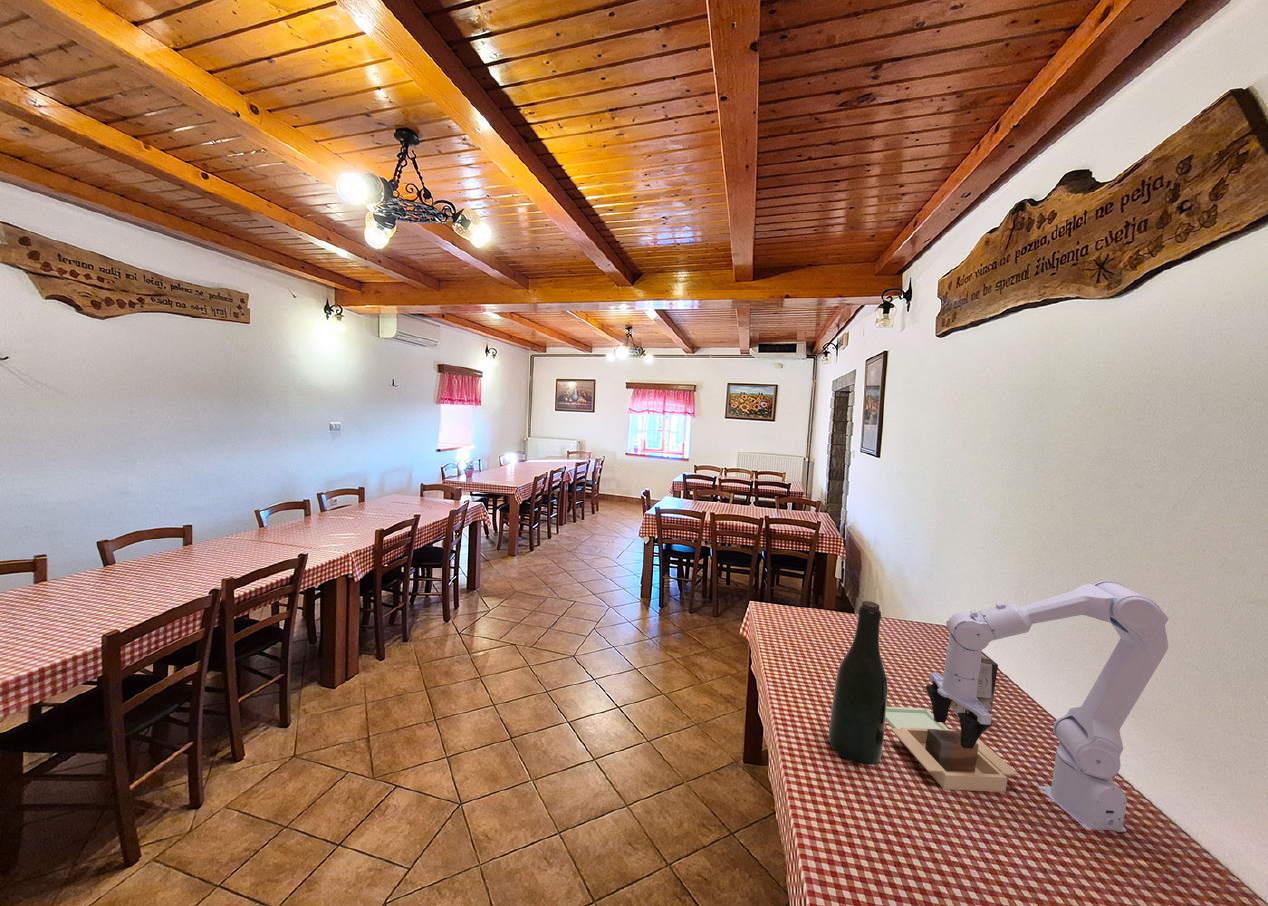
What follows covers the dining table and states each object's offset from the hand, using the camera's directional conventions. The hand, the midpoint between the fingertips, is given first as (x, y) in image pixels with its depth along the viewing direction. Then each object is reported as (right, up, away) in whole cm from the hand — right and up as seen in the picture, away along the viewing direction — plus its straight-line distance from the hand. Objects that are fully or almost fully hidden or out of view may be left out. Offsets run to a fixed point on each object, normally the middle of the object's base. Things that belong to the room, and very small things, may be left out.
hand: (952, 733), depth 94 cm
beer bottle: (-19, -6, +4) cm, 20 cm away
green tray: (0, -6, +13) cm, 15 cm away
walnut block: (0, -7, 0) cm, 7 cm away
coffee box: (+17, -8, +19) cm, 27 cm away
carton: (0, -7, 0) cm, 7 cm away
